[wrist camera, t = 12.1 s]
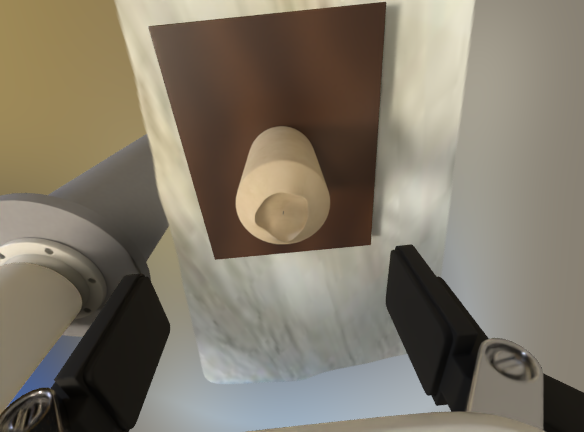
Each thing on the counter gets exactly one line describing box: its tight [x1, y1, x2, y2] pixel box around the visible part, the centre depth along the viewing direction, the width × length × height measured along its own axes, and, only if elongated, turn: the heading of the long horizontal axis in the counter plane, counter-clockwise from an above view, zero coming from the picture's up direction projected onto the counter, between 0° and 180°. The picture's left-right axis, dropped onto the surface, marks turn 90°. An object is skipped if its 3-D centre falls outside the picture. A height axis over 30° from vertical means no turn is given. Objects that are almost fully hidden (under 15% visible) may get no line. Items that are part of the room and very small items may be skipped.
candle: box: [236, 126, 330, 244], centre depth 20 cm, size 6×6×10 cm
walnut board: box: [149, 2, 386, 260], centre depth 25 cm, size 16×20×2 cm
